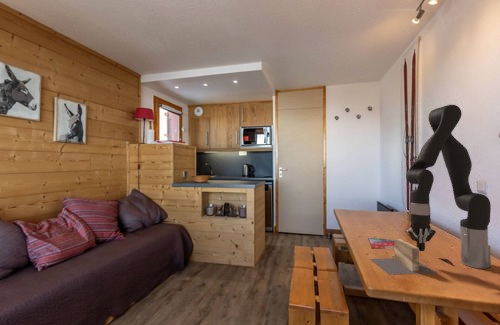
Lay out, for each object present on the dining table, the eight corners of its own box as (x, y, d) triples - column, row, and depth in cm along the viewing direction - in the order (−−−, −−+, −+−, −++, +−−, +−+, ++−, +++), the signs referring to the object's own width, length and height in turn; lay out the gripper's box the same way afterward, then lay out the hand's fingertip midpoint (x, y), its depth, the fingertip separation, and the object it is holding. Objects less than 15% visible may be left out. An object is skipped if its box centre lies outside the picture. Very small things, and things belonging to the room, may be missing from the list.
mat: (411, 259, 115) (411, 257, 115) (438, 275, 99) (438, 273, 99) (369, 261, 115) (369, 259, 115) (388, 276, 99) (388, 274, 99)
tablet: (403, 241, 143) (403, 240, 143) (415, 257, 119) (415, 255, 119) (367, 238, 150) (367, 237, 150) (372, 252, 126) (372, 251, 126)
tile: (401, 259, 113) (400, 239, 113) (419, 271, 101) (419, 248, 101) (394, 260, 113) (394, 239, 113) (412, 271, 101) (411, 248, 101)
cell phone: (412, 256, 120) (412, 254, 120) (448, 261, 114) (448, 259, 114) (415, 262, 113) (415, 260, 113) (454, 267, 107) (454, 265, 107)
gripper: (428, 210, 111) (428, 247, 111) (400, 211, 111) (401, 248, 111) (441, 214, 104) (441, 253, 104) (411, 214, 103) (412, 254, 103)
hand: (420, 250), depth 107 cm, fingers closed
